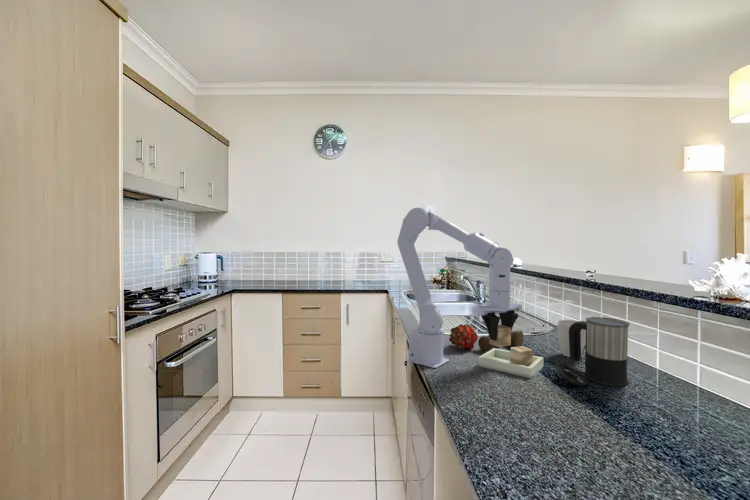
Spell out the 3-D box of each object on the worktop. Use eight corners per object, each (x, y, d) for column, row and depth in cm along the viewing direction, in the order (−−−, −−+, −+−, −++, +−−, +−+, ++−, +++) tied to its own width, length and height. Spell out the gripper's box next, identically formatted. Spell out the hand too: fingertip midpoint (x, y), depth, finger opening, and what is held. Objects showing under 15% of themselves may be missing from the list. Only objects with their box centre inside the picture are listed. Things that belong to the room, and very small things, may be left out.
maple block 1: (499, 347, 97) (499, 329, 96) (489, 343, 100) (489, 325, 100) (510, 345, 98) (510, 327, 98) (500, 341, 102) (500, 324, 102)
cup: (592, 360, 102) (592, 326, 102) (561, 359, 104) (561, 325, 104) (581, 352, 110) (582, 320, 110) (553, 350, 112) (553, 319, 111)
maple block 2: (520, 370, 93) (520, 351, 93) (510, 365, 97) (510, 347, 97) (532, 368, 94) (532, 350, 94) (522, 364, 98) (522, 346, 98)
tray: (478, 366, 98) (478, 357, 98) (493, 356, 107) (493, 348, 107) (531, 378, 89) (531, 368, 89) (543, 366, 98) (543, 357, 98)
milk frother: (632, 379, 88) (632, 320, 88) (620, 399, 77) (621, 332, 77) (569, 365, 98) (569, 312, 98) (550, 382, 87) (551, 322, 87)
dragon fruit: (454, 358, 110) (466, 353, 120) (477, 344, 107) (487, 341, 117) (440, 333, 114) (453, 331, 124) (462, 319, 110) (473, 318, 120)
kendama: (471, 350, 115) (503, 337, 128) (498, 358, 108) (529, 344, 120) (471, 332, 114) (503, 321, 127) (498, 338, 107) (530, 326, 120)
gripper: (508, 287, 106) (508, 332, 106) (469, 290, 100) (469, 338, 100) (527, 290, 99) (527, 338, 99) (486, 293, 93) (486, 344, 94)
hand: (499, 338), depth 99 cm, fingers closed on maple block 1, 4 cm apart
